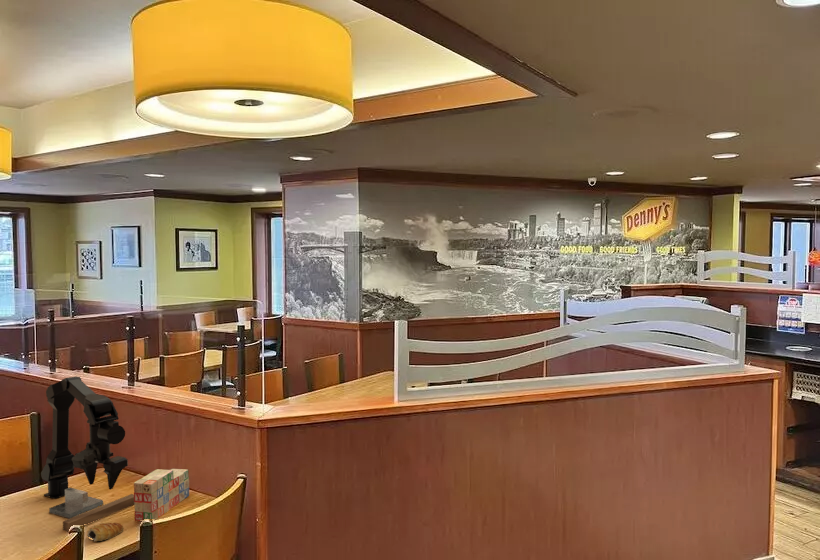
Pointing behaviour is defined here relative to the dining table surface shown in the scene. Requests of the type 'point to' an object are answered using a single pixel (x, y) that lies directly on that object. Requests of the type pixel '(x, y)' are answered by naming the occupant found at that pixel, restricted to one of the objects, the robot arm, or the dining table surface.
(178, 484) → the stack of blocks
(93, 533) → the pastry
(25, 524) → the dining table surface
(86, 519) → the walnut rod
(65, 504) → the fulcrum stand
